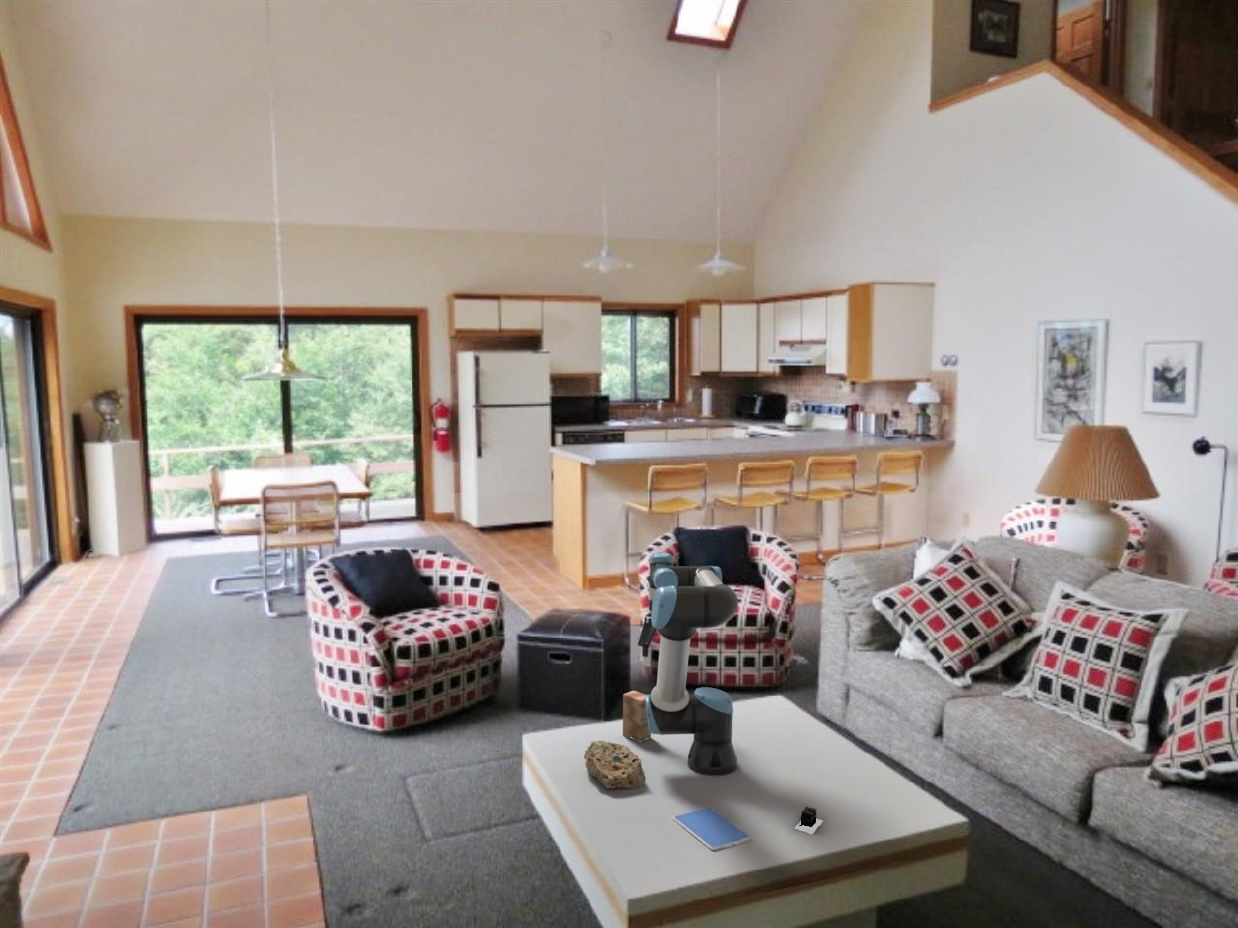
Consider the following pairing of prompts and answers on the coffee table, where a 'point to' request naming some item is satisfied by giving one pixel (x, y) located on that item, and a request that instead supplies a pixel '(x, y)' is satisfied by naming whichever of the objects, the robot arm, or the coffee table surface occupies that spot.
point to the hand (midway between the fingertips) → (659, 660)
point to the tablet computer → (711, 828)
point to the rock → (614, 765)
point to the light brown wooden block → (635, 716)
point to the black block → (808, 816)
